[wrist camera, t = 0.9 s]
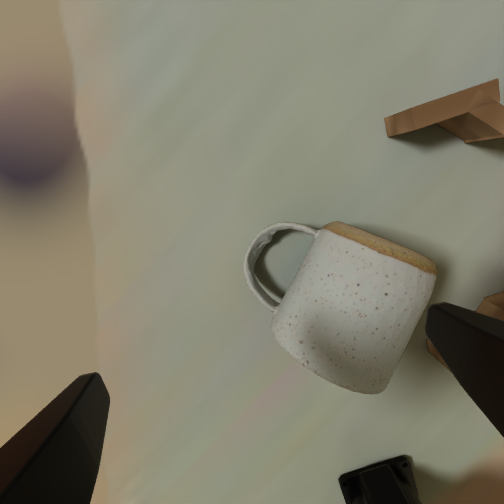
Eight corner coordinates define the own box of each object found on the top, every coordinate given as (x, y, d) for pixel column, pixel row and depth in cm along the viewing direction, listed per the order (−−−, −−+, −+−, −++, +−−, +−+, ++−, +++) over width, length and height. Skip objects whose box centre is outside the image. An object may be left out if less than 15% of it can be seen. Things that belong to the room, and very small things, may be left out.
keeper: (562, 308, 24) (608, 326, 21) (428, 351, 24) (455, 376, 21) (550, 61, 19) (607, 40, 16) (384, 118, 19) (411, 107, 16)
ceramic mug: (402, 246, 22) (489, 281, 14) (352, 340, 23) (406, 417, 16) (268, 191, 20) (287, 198, 13) (226, 295, 22) (220, 356, 14)
